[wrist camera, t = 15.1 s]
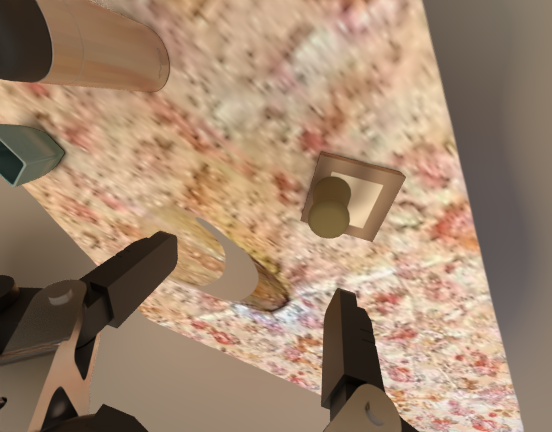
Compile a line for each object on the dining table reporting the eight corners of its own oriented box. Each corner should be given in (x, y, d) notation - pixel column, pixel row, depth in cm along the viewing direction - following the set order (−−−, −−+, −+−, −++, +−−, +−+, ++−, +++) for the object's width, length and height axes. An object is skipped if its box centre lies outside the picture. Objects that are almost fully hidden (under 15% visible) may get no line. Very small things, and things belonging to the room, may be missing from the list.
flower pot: (61, 176, 51) (13, 188, 43) (29, 144, 49) (-28, 151, 41) (76, 155, 48) (26, 164, 40) (42, 119, 45) (-18, 122, 38)
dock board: (302, 213, 42) (300, 221, 39) (321, 151, 36) (320, 155, 33) (369, 233, 40) (372, 242, 38) (400, 171, 35) (406, 177, 32)
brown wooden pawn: (353, 176, 34) (357, 202, 24) (349, 212, 36) (351, 248, 26) (313, 175, 35) (302, 199, 26) (312, 210, 38) (302, 243, 28)
